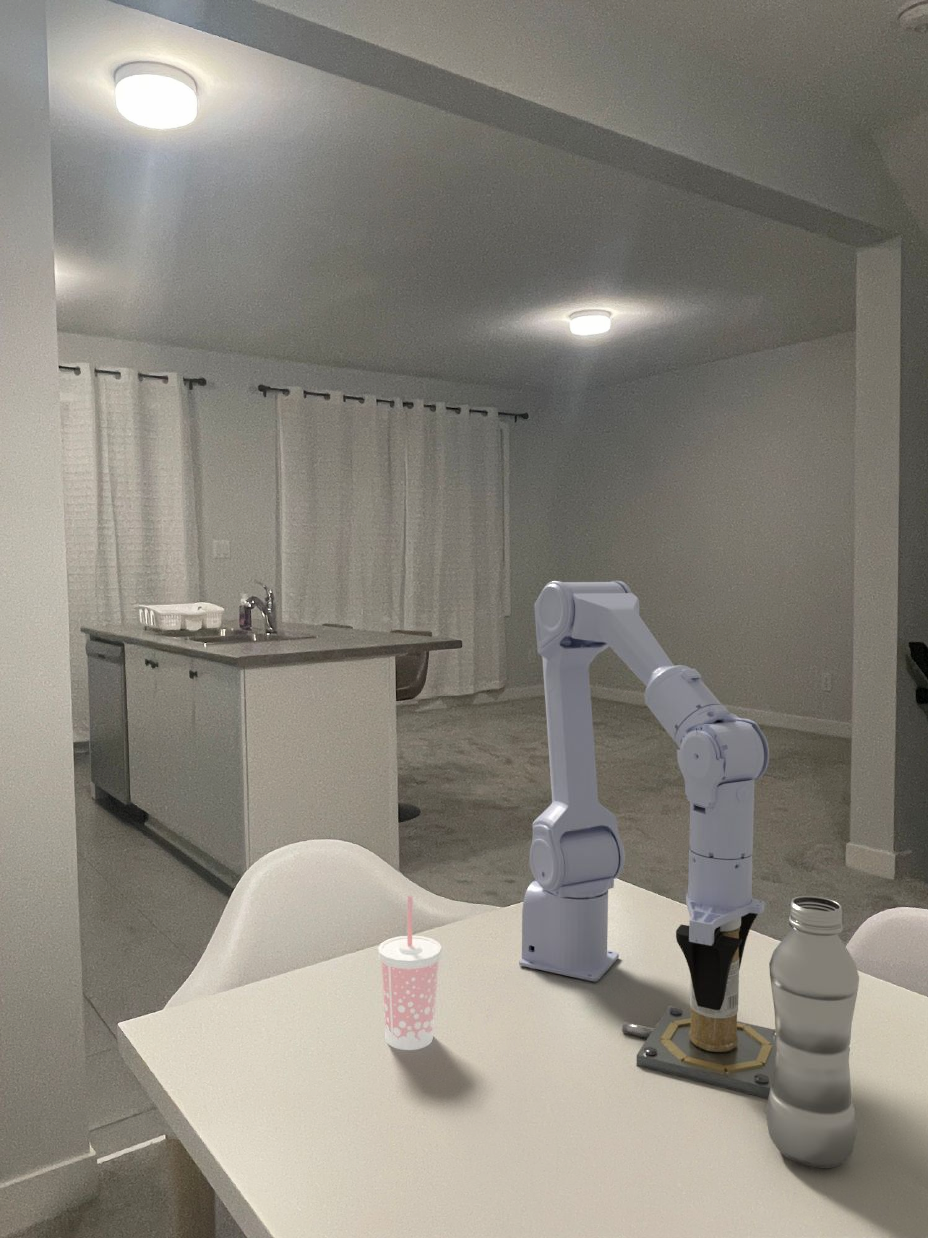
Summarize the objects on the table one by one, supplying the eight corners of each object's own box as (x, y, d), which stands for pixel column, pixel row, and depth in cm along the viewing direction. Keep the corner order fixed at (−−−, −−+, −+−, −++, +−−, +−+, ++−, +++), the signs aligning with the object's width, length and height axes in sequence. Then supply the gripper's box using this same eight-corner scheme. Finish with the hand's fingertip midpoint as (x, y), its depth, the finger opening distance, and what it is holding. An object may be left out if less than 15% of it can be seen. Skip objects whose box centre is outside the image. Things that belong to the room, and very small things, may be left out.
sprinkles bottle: (710, 1026, 94) (713, 891, 93) (748, 1046, 90) (751, 905, 90) (678, 1039, 91) (680, 900, 91) (715, 1060, 88) (718, 915, 87)
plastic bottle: (847, 1192, 71) (855, 926, 70) (754, 1161, 75) (761, 908, 73) (862, 1147, 76) (870, 900, 75) (775, 1120, 80) (782, 884, 79)
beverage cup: (454, 1037, 94) (455, 896, 93) (408, 1061, 89) (409, 913, 88) (410, 1017, 98) (410, 881, 97) (364, 1038, 93) (364, 897, 92)
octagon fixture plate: (605, 1057, 90) (605, 1045, 90) (640, 1009, 100) (640, 998, 100) (771, 1099, 83) (771, 1086, 83) (791, 1043, 93) (791, 1031, 93)
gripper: (749, 880, 81) (745, 1036, 82) (778, 837, 94) (774, 972, 95) (666, 867, 85) (663, 1017, 85) (706, 827, 97) (703, 958, 98)
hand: (717, 993), depth 90 cm, fingers open, 6 cm apart
